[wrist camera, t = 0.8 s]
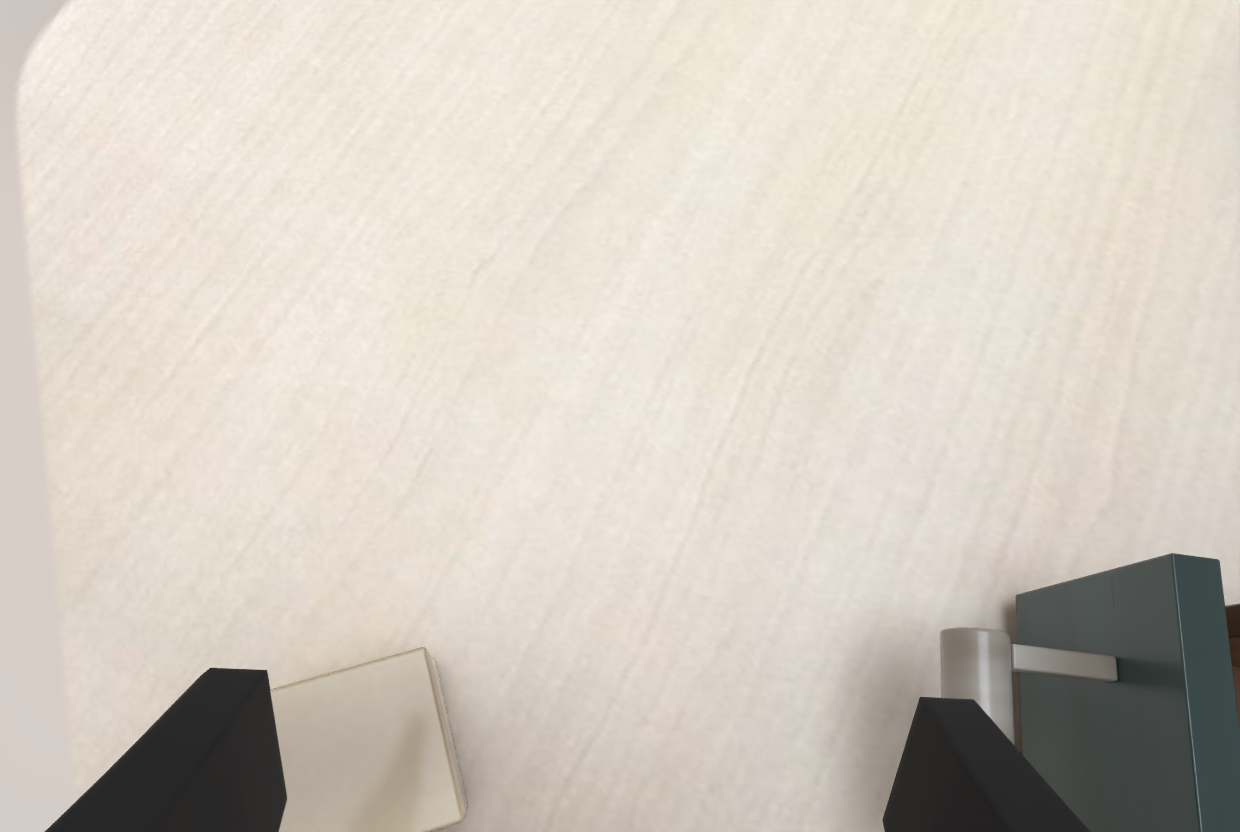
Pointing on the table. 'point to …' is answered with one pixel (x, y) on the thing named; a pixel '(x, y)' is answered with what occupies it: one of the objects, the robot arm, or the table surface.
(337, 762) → the block
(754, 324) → the table surface
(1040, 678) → the drawer
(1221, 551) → the table surface
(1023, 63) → the table surface
